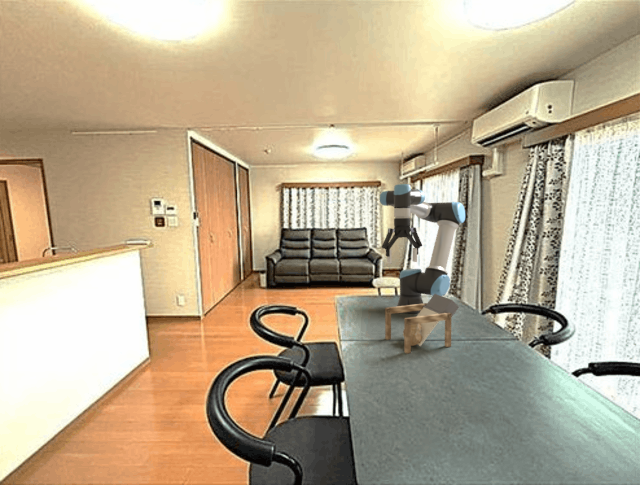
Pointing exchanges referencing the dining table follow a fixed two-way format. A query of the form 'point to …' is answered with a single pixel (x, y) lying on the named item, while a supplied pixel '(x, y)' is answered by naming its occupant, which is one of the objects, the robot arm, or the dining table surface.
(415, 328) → the stone
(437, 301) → the trapdoor
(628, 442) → the dining table surface
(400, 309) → the frame
